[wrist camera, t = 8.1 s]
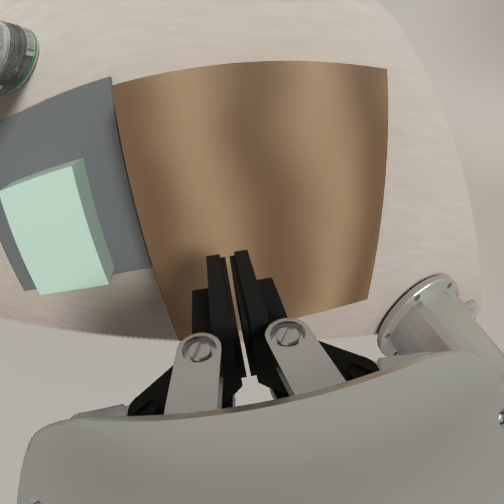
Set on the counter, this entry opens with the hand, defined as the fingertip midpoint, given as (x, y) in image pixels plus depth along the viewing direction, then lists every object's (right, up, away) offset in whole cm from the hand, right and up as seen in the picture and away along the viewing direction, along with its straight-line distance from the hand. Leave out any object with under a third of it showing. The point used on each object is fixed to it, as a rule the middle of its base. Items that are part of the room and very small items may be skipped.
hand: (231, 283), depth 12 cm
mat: (-13, +5, +4) cm, 14 cm away
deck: (+1, +5, +7) cm, 9 cm away
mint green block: (-12, +2, +3) cm, 12 cm away
